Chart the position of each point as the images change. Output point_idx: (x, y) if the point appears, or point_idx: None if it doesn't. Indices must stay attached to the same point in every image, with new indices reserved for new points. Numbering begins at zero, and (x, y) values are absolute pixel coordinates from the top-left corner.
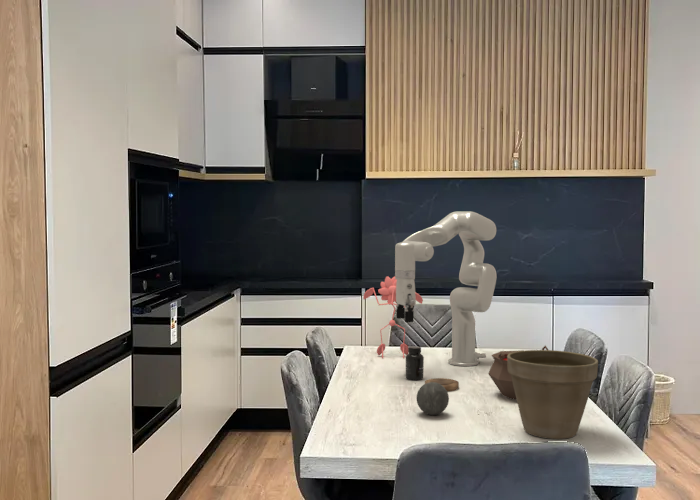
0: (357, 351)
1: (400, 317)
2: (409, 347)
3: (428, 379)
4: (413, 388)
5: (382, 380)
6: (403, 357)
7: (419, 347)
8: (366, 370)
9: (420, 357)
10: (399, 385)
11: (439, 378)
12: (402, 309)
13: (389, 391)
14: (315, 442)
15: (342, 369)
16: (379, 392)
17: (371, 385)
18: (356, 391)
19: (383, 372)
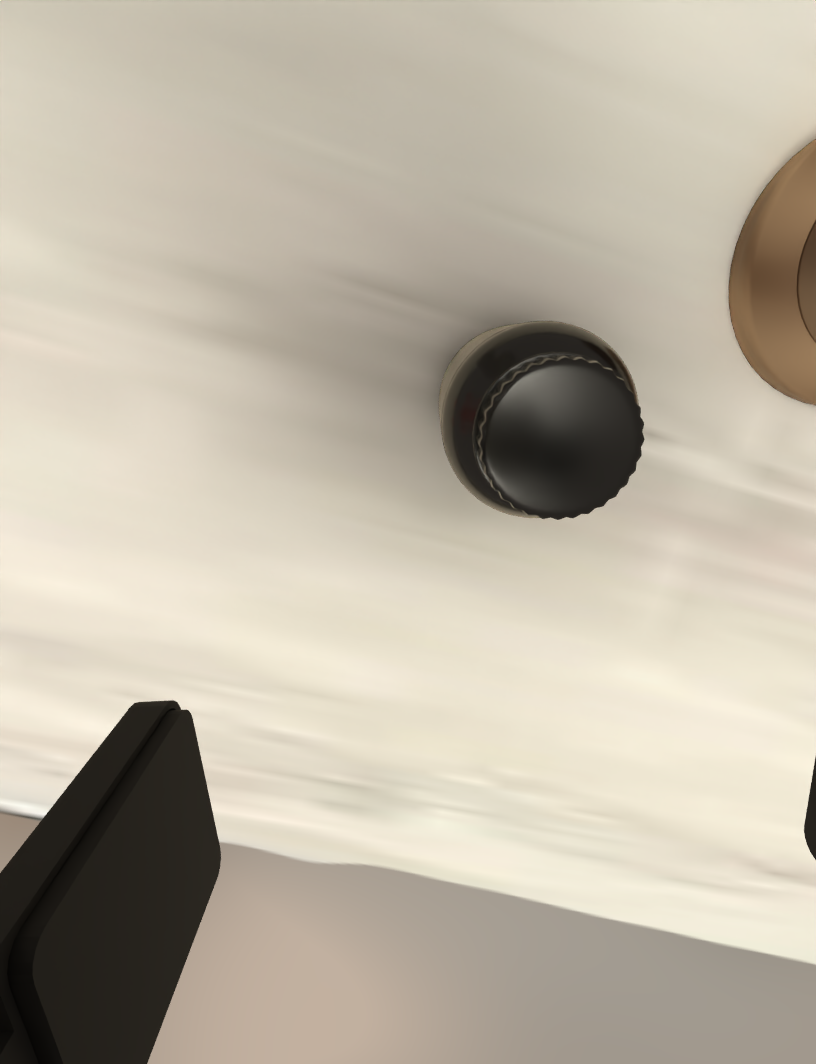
0: None
1: (199, 810)
2: (559, 511)
3: (768, 353)
4: (799, 494)
5: (500, 634)
6: None
7: (592, 382)
8: (171, 666)
9: (633, 382)
10: (678, 563)
11: (769, 239)
12: (75, 988)
13: (811, 662)
14: None
15: None
16: (809, 722)
17: (617, 726)
18: (732, 828)
19: (251, 570)
